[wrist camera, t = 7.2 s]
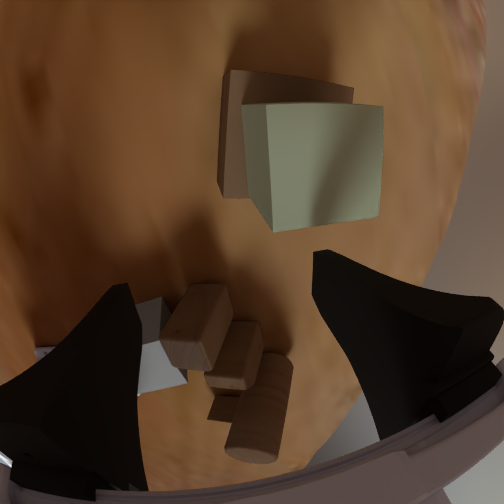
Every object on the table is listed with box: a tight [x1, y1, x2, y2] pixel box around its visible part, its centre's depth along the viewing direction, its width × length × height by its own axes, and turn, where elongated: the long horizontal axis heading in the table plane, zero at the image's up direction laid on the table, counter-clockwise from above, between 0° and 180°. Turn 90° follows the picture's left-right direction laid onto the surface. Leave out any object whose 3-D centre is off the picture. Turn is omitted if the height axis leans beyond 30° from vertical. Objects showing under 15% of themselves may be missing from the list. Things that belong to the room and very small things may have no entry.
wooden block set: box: [159, 284, 293, 464], centre depth 23 cm, size 18×9×10 cm, turn 10°
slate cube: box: [135, 297, 188, 394], centre depth 21 cm, size 5×5×5 cm
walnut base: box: [217, 70, 354, 198], centre depth 17 cm, size 7×7×4 cm
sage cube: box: [241, 102, 383, 233], centre depth 13 cm, size 5×5×5 cm
